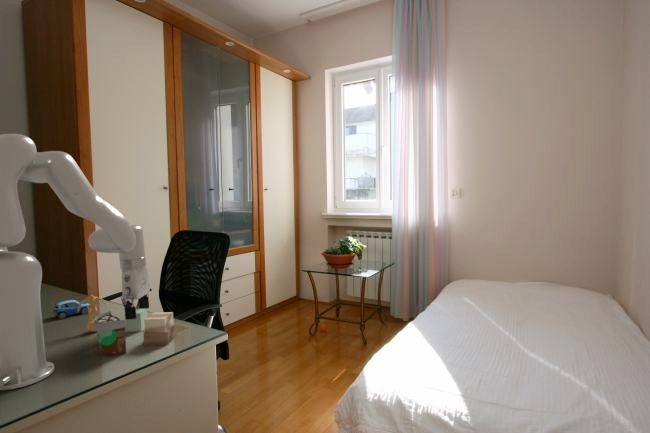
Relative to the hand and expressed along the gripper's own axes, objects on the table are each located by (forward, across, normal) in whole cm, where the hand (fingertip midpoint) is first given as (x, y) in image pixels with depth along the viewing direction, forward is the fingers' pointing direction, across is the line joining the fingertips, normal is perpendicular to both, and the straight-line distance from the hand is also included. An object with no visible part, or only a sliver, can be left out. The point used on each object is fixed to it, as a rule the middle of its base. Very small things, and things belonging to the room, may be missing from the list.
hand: (138, 313), depth 125 cm
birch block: (+1, -12, -12) cm, 17 cm away
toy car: (+5, +17, +32) cm, 37 cm away
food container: (+5, -19, 0) cm, 19 cm away
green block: (+5, -1, 0) cm, 5 cm away
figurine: (+5, -1, +14) cm, 15 cm away
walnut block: (+5, -12, -12) cm, 17 cm away
